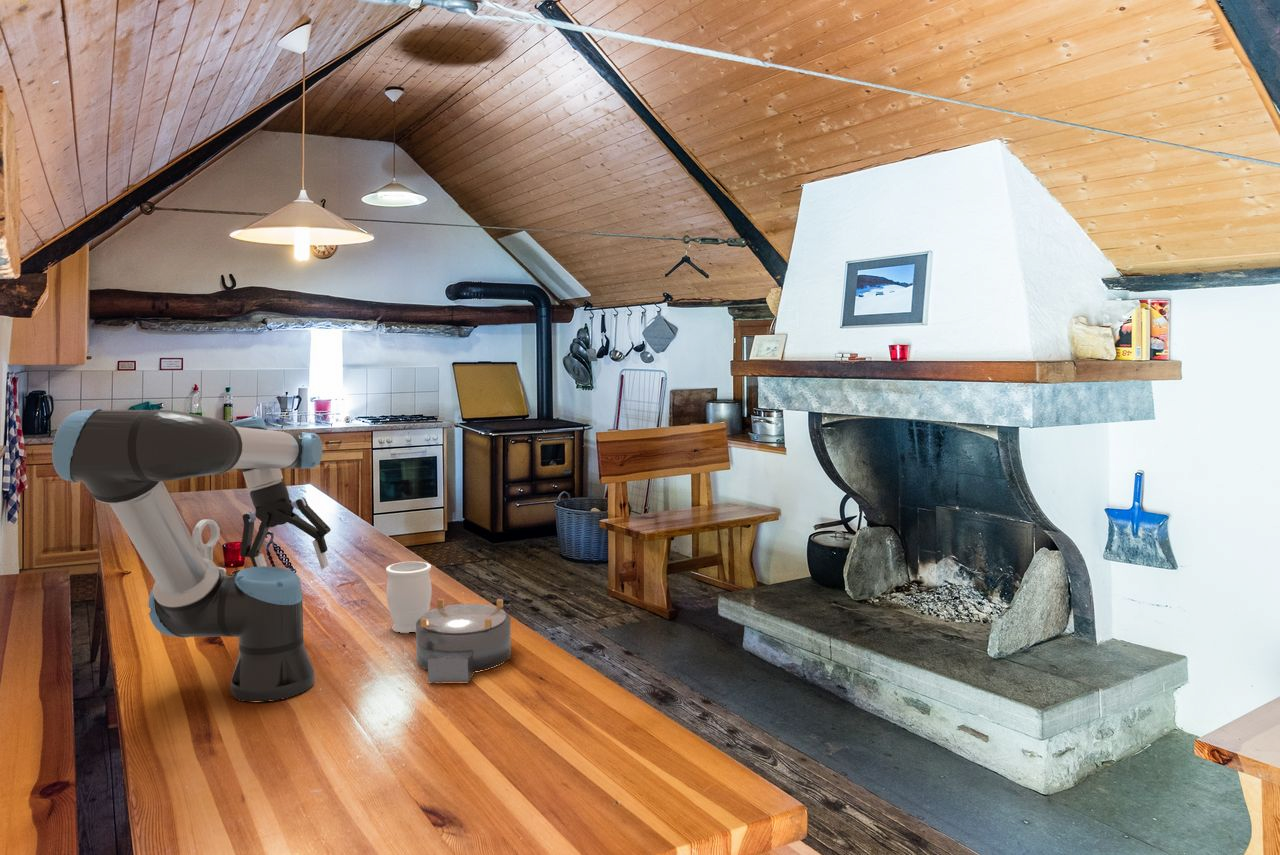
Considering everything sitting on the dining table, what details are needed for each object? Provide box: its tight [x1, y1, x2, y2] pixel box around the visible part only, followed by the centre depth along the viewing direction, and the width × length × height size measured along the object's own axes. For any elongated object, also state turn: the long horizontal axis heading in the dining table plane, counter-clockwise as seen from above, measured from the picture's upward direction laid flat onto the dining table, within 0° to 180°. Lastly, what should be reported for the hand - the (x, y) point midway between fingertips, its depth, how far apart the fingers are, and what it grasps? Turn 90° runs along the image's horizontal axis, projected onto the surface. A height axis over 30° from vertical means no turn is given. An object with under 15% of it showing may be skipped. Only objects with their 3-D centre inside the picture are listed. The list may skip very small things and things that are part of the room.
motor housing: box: [415, 598, 512, 683], centre depth 179 cm, size 24×20×11 cm
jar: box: [385, 561, 433, 634], centre depth 200 cm, size 11×10×15 cm
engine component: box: [191, 518, 227, 576], centre depth 225 cm, size 11×20×10 cm
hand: (296, 575), depth 189 cm, fingers open, 13 cm apart
